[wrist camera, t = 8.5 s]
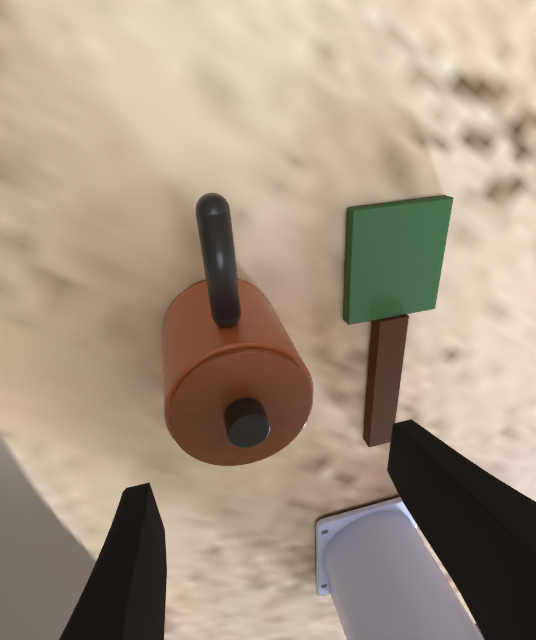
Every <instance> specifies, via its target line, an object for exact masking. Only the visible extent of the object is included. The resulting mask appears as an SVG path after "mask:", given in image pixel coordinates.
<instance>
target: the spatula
mask: <svg viewBox="0 0 536 640" xmlns="http://www.w3.org/2000/svg"><path fill="white" fill-rule="evenodd" d="M452 202H453V197H449V196H446V195H443V196H435V197H427V198H420V199H412V200H404V201H396V202H388V203H381V204H373V205H365V206H357V207H350V208H348V213H347V240H346V268H345V296H344V321H345V322H346V323H347V324H348V325H351V324H356V323H361V322H367V321H372V331H371V344H370V357H369V370H368V383H367V395H366V408H365V421H364V434H363V439H364V440H365V442H366V444H367V445H368V447H372V446H376V445H380V444H384V443H388V442H391V435H392V427H393V424H394V423H395V418H396V411H397V403H398V395H399V388H400V380H401V372H402V365H403V357H404V349H405V342H406V334H407V326H408V318H409V316H408V315H406V314H410V313H415V312H420V311H426V310H431V309H435V305H436V299H437V293H438V287H439V281H440V275H441V268H442V262H443V256H444V250H445V244H446V238H447V232H448V226H449V220H450V214H451V208H452Z"/></svg>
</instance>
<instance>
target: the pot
mask: <svg viewBox="0 0 536 640" xmlns="http://www.w3.org/2000/svg"><path fill="white" fill-rule="evenodd" d="M196 218H197V224H198V231H199V237H200V243H201V250H202V256H203V263H204V269H205V276H206V280H205V281H202V282H199V283H197V284H195V285H193V286H191V287H189V288H188V289H186V290H185V291H183V292H182V293H181V294H180V295H179V296H178V297H177V298H176V299H175V300H174V301H173V303H172V304H171V306H170V307H169V309H168V311H167V314H166V317H165V320H164V325H163V355H164V416H165V422H166V425H167V428H168V431H169V432H170V434H171V436H172V437H173V439H174V440H175V441H176V442H177V444H178V445H179V446H180V447H181V448H182V449H183V450H184V451H185V452H186V453H187V454H189V455H190V456H192V457H194V458H196V459H198V460H200V461H203V462H206V463H209V464H214V465H222V466H236V465H244V464H249V463H253V462H256V461H259V460H262V459H265V458H267V457H269V456H271V455H273V454H275V453H277V452H278V451H280V450H281V449H283V448H284V447H286V446H287V445H288V444H289V443H290V442H291V441H293V440H294V439H295V438H296V436H297V435H298V434H299V433H300V432H301V430H302V429H303V427H304V426H305V424H306V422H307V420H308V418H309V416H310V413H311V409H312V402H313V382H312V378H311V375H310V373H309V371H308V369H307V367H306V365H305V364H304V362H303V360H302V358H301V357H300V355H299V353H298V351H297V350H296V348H295V346H294V344H293V343H292V341H291V339H290V337H289V336H288V334H287V332H286V330H285V329H284V327H283V325H282V323H281V322H280V320H279V318H278V316H277V315H276V313H275V311H274V309H273V308H272V306H271V304H270V302H269V301H268V299H267V298H266V297H265V295H264V294H263V293H262V292H261V291H260V290H258V289H257V288H256V287H254V286H253V285H251V284H249V283H247V282H244V281H241V280H238V278H237V269H236V260H235V251H234V242H233V233H232V224H231V215H230V208H229V204H228V202H227V201H226V199H225V198H224V197H222V196H221V195H219V194H216V193H208V194H205V195H203V196H202V197H201V198H200V199H199V200H198V202H197V204H196Z"/></svg>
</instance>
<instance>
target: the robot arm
mask: <svg viewBox="0 0 536 640" xmlns="http://www.w3.org/2000/svg"><path fill="white" fill-rule="evenodd" d="M387 471H388V473H389V475H390V477H391V479H392V481H393V483H394V485H395V487H396V489H397V491H398V493H399V495H400V497H398V498H394V499H391V500H387V501H384V502H380V503H376V504H373V505H369V506H366V507H362V508H358V509H355V510H351V511H348V512H344V513H340V514H337V515H333V516H330V517H326V518H323V519H320V520H319V521H318V522H317V523H316V590H317V593H318V595H319V596H324V595H327V594H330V593H331V596H332V599H333V602H334V605H335V607H336V610H337V613H338V616H339V619H340V622H341V624H342V627H343V630H344V633H345V636H346V639H347V640H484V639H483V638H482V636H481V634H480V633H479V631H478V630H477V628H476V626H475V625H474V623H473V621H472V620H471V618H470V617H469V615H468V613H467V612H466V610H465V608H464V607H463V605H462V603H461V602H460V600H459V599H458V597H457V595H456V594H455V592H454V590H453V589H452V587H451V585H450V584H449V582H448V581H447V579H446V577H445V576H444V574H443V572H442V571H441V569H440V568H439V566H438V564H437V563H436V561H435V559H434V558H433V556H432V554H431V553H430V551H429V550H428V548H427V546H426V545H425V543H424V541H423V540H422V538H421V536H420V535H419V533H418V532H417V530H416V527H417V525H418V527H419V529H420V530H421V532H422V533H423V535H424V536H425V538H426V539H427V541H428V542H429V544H430V546H431V547H432V549H433V550H434V552H435V553H436V555H437V556H438V558H439V559H440V561H441V563H442V564H443V566H444V567H445V569H446V570H447V572H448V573H449V575H450V577H451V578H452V580H453V582H454V583H455V585H456V587H457V588H458V590H459V592H460V593H461V595H462V597H463V599H464V601H465V603H466V604H467V606H468V608H469V610H470V612H471V614H472V616H473V618H474V619H475V621H476V623H477V625H478V627H479V629H480V631H481V633H482V635H483V637H484V638H485V640H536V502H535V501H533V500H532V499H530V498H528V497H527V496H525V495H523V494H522V493H520V492H518V491H517V490H515V489H513V488H512V487H510V486H508V485H507V484H505V483H503V482H502V481H500V480H499V479H497V478H496V477H494V476H492V475H491V474H489V473H488V472H486V471H485V470H483V469H482V468H480V467H479V466H477V465H476V464H474V463H473V462H471V461H470V460H468V459H467V458H465V457H464V456H462V455H461V454H459V453H458V452H457V451H455V450H454V449H452V448H451V447H449V446H448V445H447V444H445V443H444V442H442V441H441V440H440V439H438V438H437V437H435V436H434V435H433V434H431V433H430V432H428V431H427V430H426V429H424V428H423V427H421V426H420V425H418V424H417V423H416V422H414V421H413V420H407V421H403V422H399V423H394V424H393V427H392V435H391V444H390V452H389V461H388V469H387ZM166 577H167V564H166V545H165V529H164V526H163V523H162V520H161V517H160V514H159V511H158V507H157V504H156V501H155V498H154V495H153V492H152V489H151V486H150V483H146V484H142V485H137V486H133V487H129V488H126V489H125V490H124V491H123V493H122V496H121V500H120V503H119V505H118V508H117V511H116V514H115V517H114V519H113V522H112V525H111V527H110V530H109V532H108V535H107V538H106V540H105V543H104V545H103V547H102V550H101V552H100V554H99V557H98V559H97V561H96V564H95V566H94V568H93V571H92V573H91V575H90V578H89V580H88V582H87V584H86V586H85V588H84V591H83V593H82V595H81V597H80V599H79V601H78V603H77V605H76V607H75V609H74V612H73V613H72V615H71V618H70V620H69V622H68V624H67V626H66V628H65V629H64V631H63V633H62V635H61V637H60V639H59V640H164V623H165V601H166Z"/></svg>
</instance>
